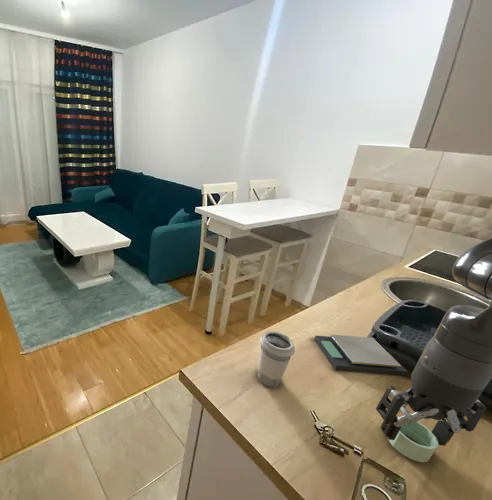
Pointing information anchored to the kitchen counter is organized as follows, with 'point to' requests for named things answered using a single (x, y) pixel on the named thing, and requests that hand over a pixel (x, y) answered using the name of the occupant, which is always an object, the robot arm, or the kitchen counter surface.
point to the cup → (274, 357)
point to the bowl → (421, 436)
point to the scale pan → (364, 351)
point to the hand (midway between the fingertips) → (412, 437)
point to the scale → (343, 364)
